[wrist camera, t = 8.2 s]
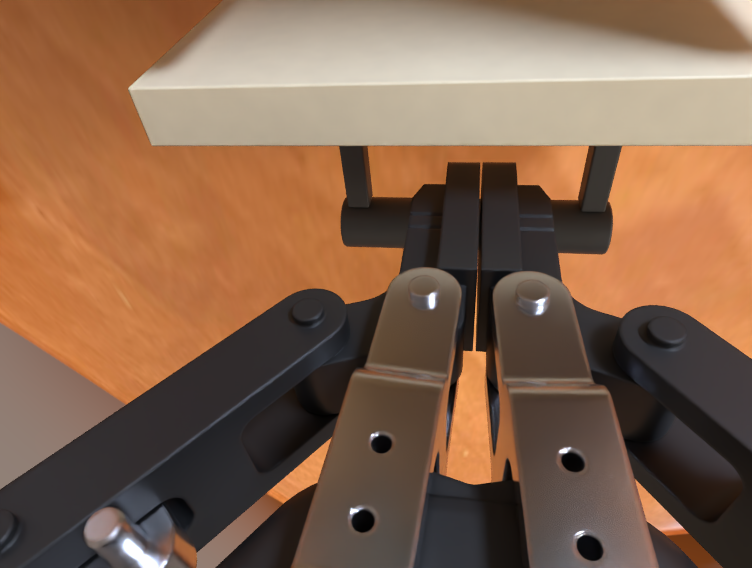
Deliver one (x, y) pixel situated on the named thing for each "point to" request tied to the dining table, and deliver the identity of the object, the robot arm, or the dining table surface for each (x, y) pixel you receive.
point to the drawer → (458, 87)
